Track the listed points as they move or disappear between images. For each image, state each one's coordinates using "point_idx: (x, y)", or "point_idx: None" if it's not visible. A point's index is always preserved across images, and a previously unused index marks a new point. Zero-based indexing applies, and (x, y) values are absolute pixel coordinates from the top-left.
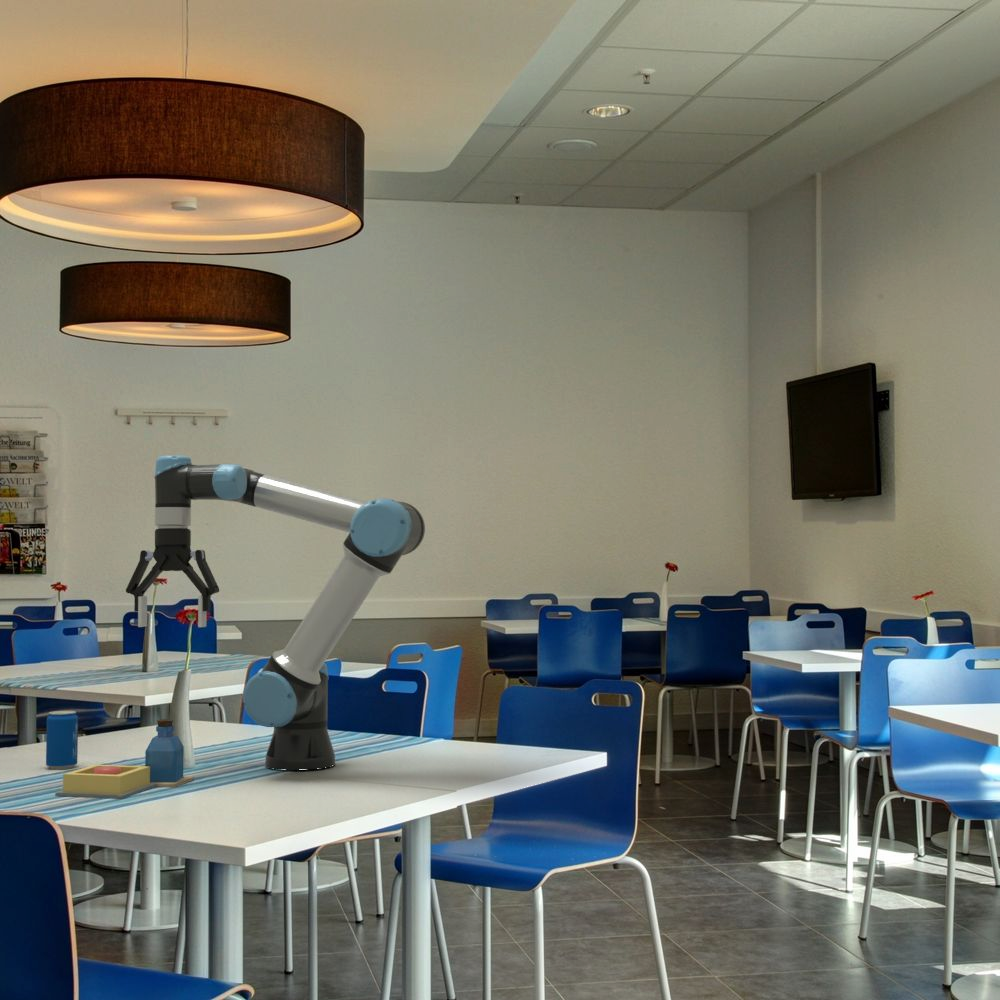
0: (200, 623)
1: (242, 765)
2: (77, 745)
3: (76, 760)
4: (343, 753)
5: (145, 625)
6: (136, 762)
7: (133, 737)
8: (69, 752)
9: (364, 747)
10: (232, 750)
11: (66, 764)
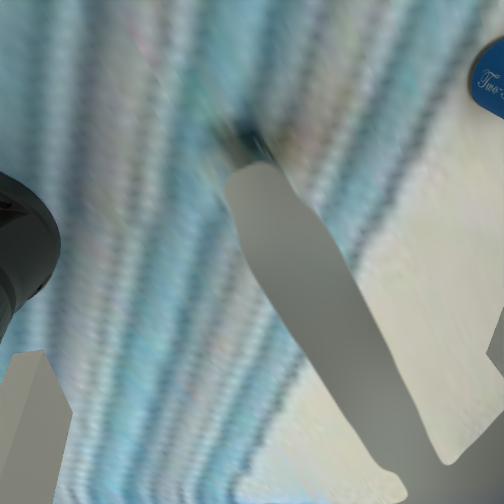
0: (11, 376)
1: (110, 210)
2: (495, 102)
3: (475, 84)
4: None
5: (495, 344)
6: (356, 183)
7: (454, 393)
8: (501, 62)
9: None
10: (233, 344)
11: (490, 49)
